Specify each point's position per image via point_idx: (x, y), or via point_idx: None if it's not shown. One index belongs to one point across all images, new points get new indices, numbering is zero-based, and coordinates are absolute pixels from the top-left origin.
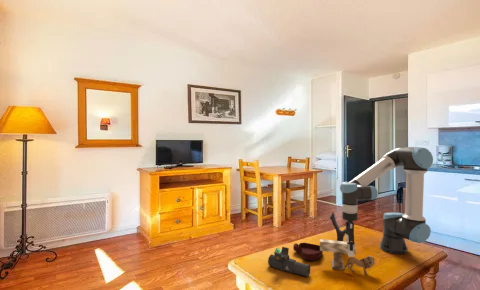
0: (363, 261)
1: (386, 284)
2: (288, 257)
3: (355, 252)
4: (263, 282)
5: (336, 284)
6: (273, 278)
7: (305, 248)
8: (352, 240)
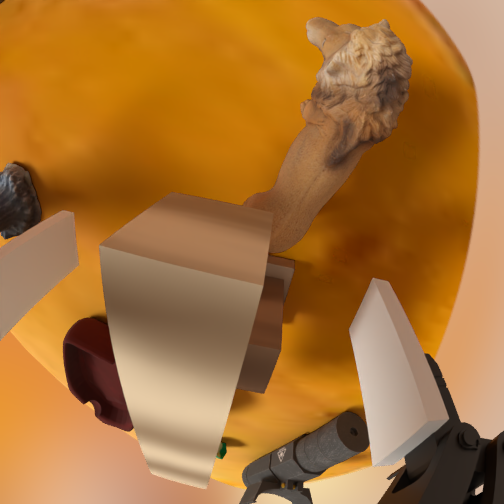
0: (370, 145)
1: (465, 66)
2: (292, 485)
3: (271, 225)
4: (360, 468)
5: (436, 336)
6: (345, 461)
7: (96, 382)
8: (496, 496)
